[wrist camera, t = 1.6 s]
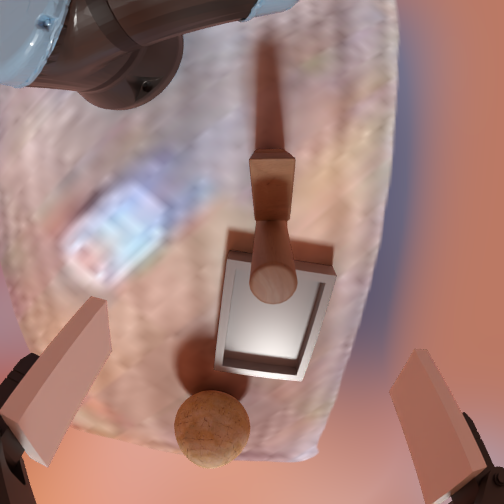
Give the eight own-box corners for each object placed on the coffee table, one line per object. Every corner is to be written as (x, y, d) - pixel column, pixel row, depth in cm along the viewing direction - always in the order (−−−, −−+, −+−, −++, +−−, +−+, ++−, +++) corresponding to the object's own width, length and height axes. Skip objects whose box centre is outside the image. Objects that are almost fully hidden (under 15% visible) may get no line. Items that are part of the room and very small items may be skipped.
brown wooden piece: (284, 148, 36) (301, 161, 19) (285, 232, 40) (298, 307, 23) (254, 149, 36) (243, 162, 19) (257, 233, 40) (249, 308, 23)
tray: (229, 250, 41) (227, 258, 38) (332, 266, 41) (336, 276, 38) (216, 357, 48) (213, 369, 45) (300, 368, 48) (302, 381, 45)
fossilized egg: (251, 420, 54) (246, 484, 40) (187, 414, 54) (172, 475, 41) (252, 377, 49) (248, 449, 35) (179, 371, 50) (157, 439, 36)
